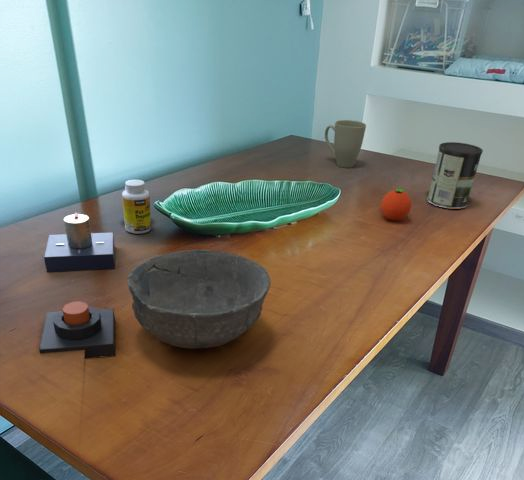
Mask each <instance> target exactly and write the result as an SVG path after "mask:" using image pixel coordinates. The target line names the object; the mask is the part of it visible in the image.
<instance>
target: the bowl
mask: <svg viewBox="0 0 524 480" xmlns="http://www.w3.org/2000/svg"><path fill="white" fill-rule="evenodd" d="M271 283H272V281H271V277H270V274H269V272H268V270H267V269H266V268H265V267H263V266H262V265H261V264H259V263H258V262H256V261H254V260H252V259H250V258H247V257H245V256H242V255H238V254H235V253H230V252H226V251H218V250H208V249H190V250H179V251H174V252H169V253H164V254H160V255H155V256H152V257H150V258H148V259H146V260H145V261H143V262H141V263H139V264H138V265H136V266H135V267H133V268H132V269H131V272H130V274H128V275H127V288H128V290H129V293H130V294H131V297H132V301H133V302H132V304H131V306H132V310H133V314H134V317H135V319H136V320H137V322H138V323H139V325H140V326H141V327H142V328H144V329H145V331H146V333H148V334H150V335H151V336H153V337H154V338H155V339H157V340H158V341H161V342H162V343H164V344H167V345H169V346H173V347H177V348H181V349H208V348H217V347H221V346H224V345H225V344H227V343H229V342H233V340H235V339H237V338H238V337H240V336H241V335H243V333H245V332H246V331H248V330H249V329H250V328H251V327H252V326H253V325H254V324H256V323H257V322H258V320H259V318H260V317H261V315H262V310H263V304H264V302H265V299H266V297H267V294H268V293H269V290H270V288H271Z"/></svg>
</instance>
